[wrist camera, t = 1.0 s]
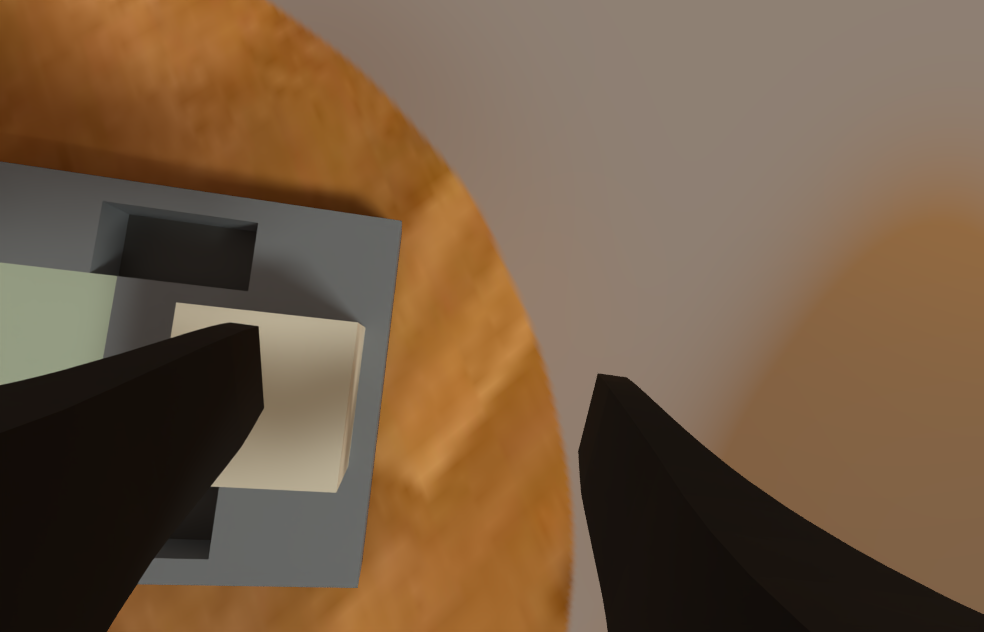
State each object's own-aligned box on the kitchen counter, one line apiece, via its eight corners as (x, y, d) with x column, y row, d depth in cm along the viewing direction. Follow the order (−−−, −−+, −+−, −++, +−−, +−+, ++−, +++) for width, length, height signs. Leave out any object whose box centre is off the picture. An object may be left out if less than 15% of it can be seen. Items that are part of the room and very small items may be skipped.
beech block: (348, 466, 21) (336, 492, 17) (196, 457, 20) (146, 483, 16) (365, 327, 21) (357, 322, 18) (219, 311, 20) (176, 302, 16)
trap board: (362, 562, 23) (352, 612, 19) (-89, 551, 20) (-228, 607, 16) (401, 234, 25) (401, 208, 20) (-12, 174, 21) (-119, 128, 17)
